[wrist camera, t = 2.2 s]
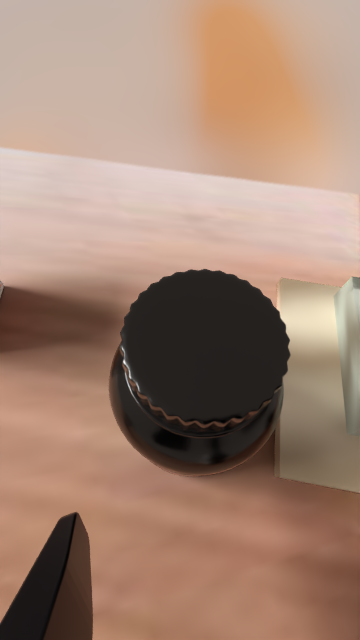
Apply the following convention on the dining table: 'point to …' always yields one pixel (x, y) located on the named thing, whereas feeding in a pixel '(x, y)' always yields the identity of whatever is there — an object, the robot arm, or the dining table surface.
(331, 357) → the cradle board
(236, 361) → the supplement bottle
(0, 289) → the skincare box
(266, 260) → the dining table surface
